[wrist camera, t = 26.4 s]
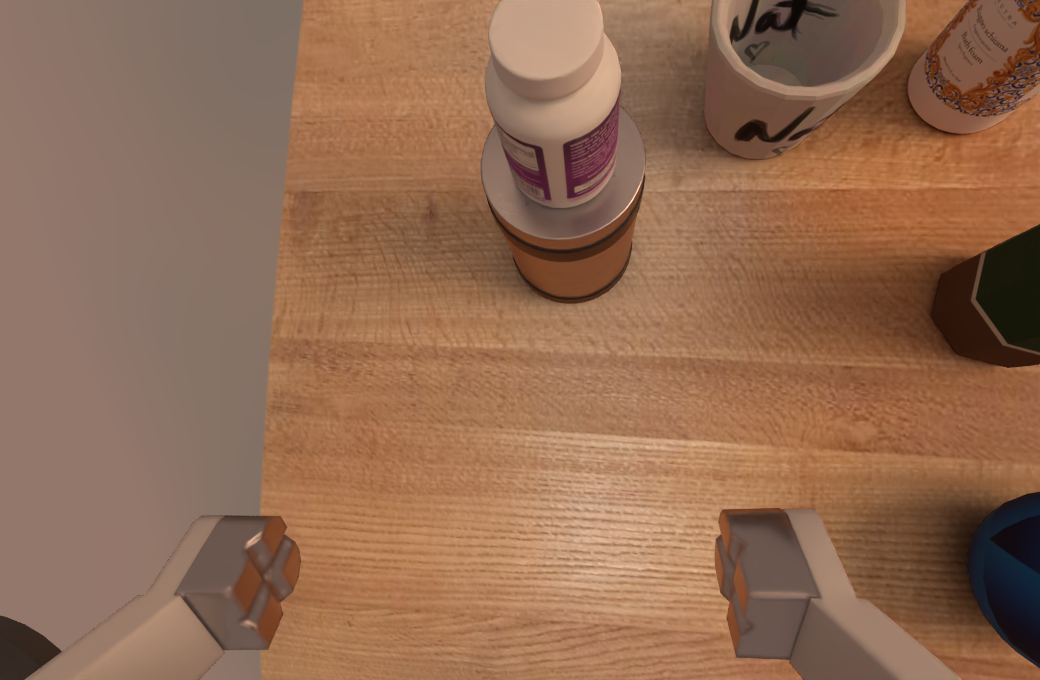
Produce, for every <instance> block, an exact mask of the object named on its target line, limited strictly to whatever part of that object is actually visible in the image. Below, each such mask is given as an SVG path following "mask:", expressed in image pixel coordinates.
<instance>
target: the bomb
mask: <svg viewBox="0 0 1040 680" xmlns="http://www.w3.org/2000/svg"><path fill="white" fill-rule="evenodd" d="M967 569H968V574H969V579H970V584H971V589H972V593H973V595H974V597H975V599H976V601H977V603H978V605H979V607H980V609H981V611H982V613H983V615H984V617H985V618H986V619H987V620H988V622H989V623H990V624H991V625H992V627H993V628H994V629H995V630H996V632H997V633H998V634H999V635H1000V637H1001V638H1002V639H1003V640H1004V641H1006V642H1007V643H1008V644H1009V645H1010V646H1011V647H1012V648H1013V649H1014V650H1015V651H1016V652H1018V653H1019V654H1020V655H1022V656H1023V657H1025V658H1026V659H1027V660H1029V661H1030V662H1032V663H1033V664H1035V665H1036V666H1037V667H1039V668H1040V492H1036V493H1030V494H1026V495H1023V496H1021V497H1018V498H1016V499H1013V500H1011V501H1008V502H1006V503H1004V504H1002V505H1001V506H1000V507H998V508H997V509H996V510H994V511H993V512H992V513H990V514H989V515H988V516H986V517H985V519H984V520H983V522H982V523H981V525H980V526H979V528H978V529H977V530H976V532H975V533H974V535H973V538H972V541H971V544H970V548H969V552H968V564H967Z"/></svg>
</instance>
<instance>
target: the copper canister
mask: <svg viewBox="0 0 1040 680" xmlns="http://www.w3.org/2000/svg"><path fill="white" fill-rule="evenodd" d="M645 165H646V153H645V147H644V142H643V139H642V136H641V133H640V131H639V129H638V127H637V125H636V123H635V122H634V120H633V119H632V117H631V116H630V115H629V114H628V113H627V112H626V110H625V109H624V108H623V107H621V106H620V110H619V125H618V143H617V155H616V163H615V167H614V171H613V174H612V176H611V178H610V180H609V181H608V183H607V184H606V185H605V187H604V188H603V189H602V190H601V191H600V192H599V193H598V194H597V195H596V196H595V197H593V198H592V199H591V200H589V201H587V202H584V203H582V204H579V205H577V206H573V207H568V208H552V207H549V206H545V205H542V204H540V203H538V202H536V201H534V200H532V199H530V198H529V197H528V196H526V195H525V194H524V193H523V192H522V191H521V190H520V188H519V187H518V185H517V184H516V182H515V180H514V178H513V176H512V174H511V171H510V168H509V165H508V162H507V159H506V156H505V153H504V150H503V147H502V144H501V141H500V138H499V135H498V132H497V129H496V126H495V125H494V126H493V128H492V130H491V131H490V133H489V135H488V138H487V140H486V142H485V145H484V149H483V152H482V158H481V178H482V183H483V187H484V191H485V193H486V197H487V201H488V204H489V207H490V209H491V212H492V214H493V216H494V218H495V220H496V223H497V225H498V226H499V228H500V230H501V231H502V233H503V234H504V236H505V239H506V241H507V243H508V245H509V248H510V250H511V252H512V255H513V259H514V262H515V265H516V267H517V269H518V271H519V273H520V275H521V277H522V278H523V280H524V281H525V282H526V284H527V285H528V286H529V287H530V288H531V289H532V290H533V291H535V292H536V293H538V294H539V295H541V296H543V297H545V298H547V299H549V300H552V301H556V302H560V303H581V302H586V301H589V300H592V299H595V298H597V297H599V296H601V295H603V294H604V293H606V292H607V291H608V290H610V289H611V288H612V287H613V286H614V285H615V284H616V283H617V282H618V281H619V280H620V278H621V277H622V275H623V274H624V272H625V270H626V268H627V265H628V263H629V259H630V255H631V250H632V237H633V232H634V227H635V221H636V216H637V213H638V210H639V207H640V203H641V199H642V194H643V189H644V182H645Z"/></svg>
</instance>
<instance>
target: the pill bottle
mask: <svg viewBox="0 0 1040 680" xmlns="http://www.w3.org/2000/svg"><path fill="white" fill-rule="evenodd" d="M488 37H489V45H490V50H491V54H492V55H491V57H490V60H489V62H488V66H487V70H486V76H485V91H486V98H487V102H488V106H489V109H490V111H491V114H492V117H493V120H494V123H495V126H496V129H497V132H498V135H499V138H500V141H501V144H502V147H503V150H504V153H505V156H506V159H507V162H508V165H509V168H510V171H511V174H512V176H513V178H514V180H515V182H516V184H517V185H518V187H519V188H520V190H521V191H522V192H523V193H524V194H525V195H526V196H528V197H529V198H530V199H532V200H534V201H536V202H538V203H540V204H542V205H545V206H549V207H552V208H568V207H573V206H577V205H579V204H582V203H584V202H587V201H589V200H591V199H592V198H593V197H595V196H596V195H597V194H598V193H599V192H600V191H601V190H602V189H603V188H604V187H605V185H606V184H607V183H608V181H609V180H610V178H611V176H612V174H613V171H614V167H615V163H616V155H617V143H618V125H619V110H620V92H621V69H620V64H619V60H618V56H617V53H616V51H615V49H614V47H613V45H612V43H611V42H610V40H609V39H608V37H607V36H606V35H605V34H604V27H603V17H602V12H601V9H600V6H599V4H598V2H597V0H501V1H500V3H499V4H498V5H497V7H496V9H495V10H494V13H493V15H492V17H491V21H490V25H489V32H488Z"/></svg>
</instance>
